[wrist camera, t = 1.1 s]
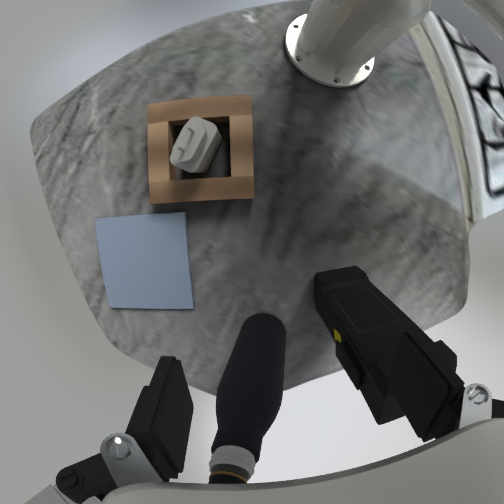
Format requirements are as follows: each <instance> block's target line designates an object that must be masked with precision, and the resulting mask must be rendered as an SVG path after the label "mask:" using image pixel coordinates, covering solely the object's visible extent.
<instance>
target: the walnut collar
mask: <svg viewBox="0 0 504 504" xmlns="http://www.w3.org/2000/svg"><path fill="white" fill-rule="evenodd" d="M192 117H200V118H202V119H204V120H207V121H209V122H211V123H221V122H230V155H231V177H216V178H200V179H185V180H177V178H176V166H174V165H173V164H172V163H171V161H170V156H171V154H172V149H173V146H174V144H175V126H184V125H185V124H186V123H188V121H189V120H190V119H191V118H192ZM148 172H149V191H150V204H159V203H172V202H187V201H204V200H224V199H250V198H255V197H254V161H253V126H252V95H234V96H216V97H203V98H192V99H183V100H175V101H167V102H161V103H154V104H148Z"/></svg>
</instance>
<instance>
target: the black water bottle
mask: <svg viewBox="0 0 504 504" xmlns="http://www.w3.org/2000/svg"><path fill="white" fill-rule="evenodd" d="M285 345H286V330H285V326H284V325H283V323H282V322H281V321H280V320H279V319H278V318H277V317H275V316H273V315H270V314H264V313H260V314H255V315H253V316H251V317H249V318H248V319H247V320H246V321H245V322H244V324H243V326H242V329H241V331H240V334H239V336H238V339H237V341H236V344H235V346H234V349H233V351H232V354H231V356H230V359H229V361H228V364H227V366H226V369H225V371H224V374H223V376H222V378H221V381H220V383H219V386H218V388H217V396H216V416H217V423H218V430H217V433H216V436H215V439H214V442H213V445H212V447H211V453H212V456H211V461H210V462H209V466H210V472H211V475H210V477H209V483H208V484H247V481H248V480H249V479H250V478H251V476H252V475H253V474H254V467H255V464H256V463H257V462H258V460H259V457H260V451H261V444H262V438H263V436H264V435H265V434H266V432H267V431H268V429H269V428H270V426H271V425H272V423H273V422H274V420H275V418H276V416H277V413H278V411H279V409H280V406H281V401H282V395H283V380H284V364H285Z"/></svg>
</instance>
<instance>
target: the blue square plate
mask: <svg viewBox="0 0 504 504" xmlns="http://www.w3.org/2000/svg"><path fill="white" fill-rule="evenodd" d="M94 220H95V228H96V236H97V243H98V250H99V256H100V262H101V268H102V273H103V278H104V283H105V288H106V293H107V297H108V302H109V306H110V307H111V308H145V309H194V306H195V303H194V295H193V286H192V277H191V267H190V256H189V245H188V232H187V219H186V211H183V212H167V213H153V214H140V215H128V216H117V217H106V218H97V219H94Z"/></svg>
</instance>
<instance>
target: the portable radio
mask: <svg viewBox="0 0 504 504" xmlns="http://www.w3.org/2000/svg"><path fill="white" fill-rule="evenodd" d="M314 292H315V305H316V310H317V312H318V314H319V315H320V317H321V318H322V320H323V322H324V323H325V325H326V327H327V329H328V330H329V332H330V334H331V336H332V338H333V339H334V341H335V343H336V356H337V358H338V359H339V361H340V363H341V364H342V366H343V368H344V369H345V371H346V372H347V374H348V376H349V377H350V379H351V381H352V382H353V384H354V386H355V387H356V389H357V390H359V389H360V391H361V392H362V394H363V396H364V398H365V400H366V402H367V404H368V406H369V408H370V410H371V412H372V414H373V416H374V418H375V420H376V422H377V424H378V425H381V424H385V423H387V422H390V421H393V420H395V419H398V418H401V417H403V416H406V415H405V413H404V411H403V410H402V408H401V406H400V404H399V403H398V401H397V399H396V398H395V396H394V394H393V392H392V391H391V389H390V387H389V384H388V380H389V376H390V373H391V369H392V366H393V362H394V358H395V355H396V351H397V347H398V342H399V338H400V336H402V334H403V333H404V332H405V331H410V330H414V329H416V330H417V331H418V332H419V333H420V334H421V335H422V336H423V337H424V338H425V339H426V340H427V341H428V342H429V343H430V344H431V346H432V347H433V348H434V349H435V350H436V351H437V352H438V353H439V354H440V355H441V357H442V358H443V359H444V360H445V361H446V362H447V363H448V364H449V366H450V367H451V368H452V369H453V370H454V371H455V372H456V366H457V355H456V354H455V353H454V352H453V351H452V350H451V349H450V348H449V347H448V346H447V345H446V344H445V343H444V342H443V341H442V340H439V341H437V342H433V341H432V340H431V339H430V338H429V337H428V336H427V335H426V334H425V333H424V332H423V331H422V330H421V329H420V328H419V327H418V326H417V325H416V324H415V323H414V322H413V321H412V320H411V319H410V318H409V317H408V316H407V315H406V314H405V313H403V312H402V311H401V310H400V309H399V308H398V307H397V306H396V305H395V304H394V303H393V302H392V301H391V300H390V299H388V298H387V297H386V296H385V295H384V294H383V293H382V292H381V291H380V290H379V289H377V288H376V287H375V286H374V285H373V284H372V283H371V282H370V281H369V279H368V277H367V275H366V273H365V272H364V271H363V270H361V269H360V268H359V267H357V266H352V267H346V268H341V269H336V270H330V271H324V272H319V273H316V275H315V279H314Z"/></svg>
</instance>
